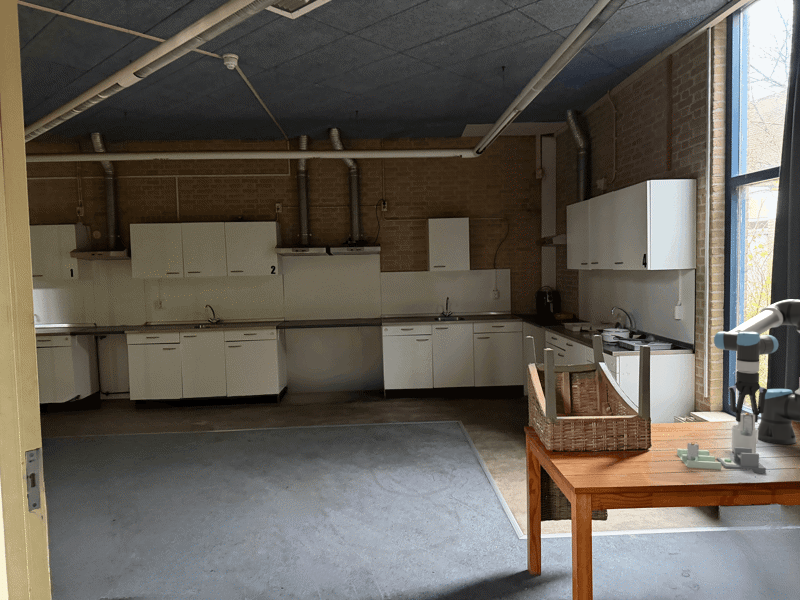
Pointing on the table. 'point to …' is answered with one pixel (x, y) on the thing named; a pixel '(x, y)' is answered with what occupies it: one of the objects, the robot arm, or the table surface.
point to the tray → (703, 462)
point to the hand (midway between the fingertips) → (746, 429)
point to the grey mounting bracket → (743, 460)
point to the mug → (744, 439)
